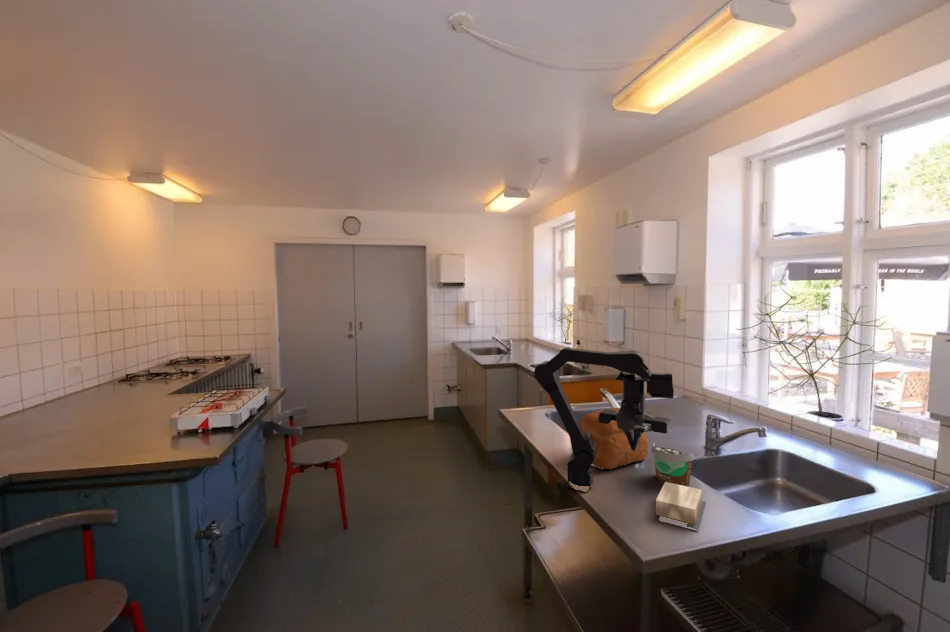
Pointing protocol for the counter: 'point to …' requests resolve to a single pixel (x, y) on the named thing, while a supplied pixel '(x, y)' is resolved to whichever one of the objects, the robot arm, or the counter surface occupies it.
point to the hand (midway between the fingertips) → (633, 450)
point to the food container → (672, 465)
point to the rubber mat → (698, 517)
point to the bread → (612, 442)
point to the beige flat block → (679, 503)
